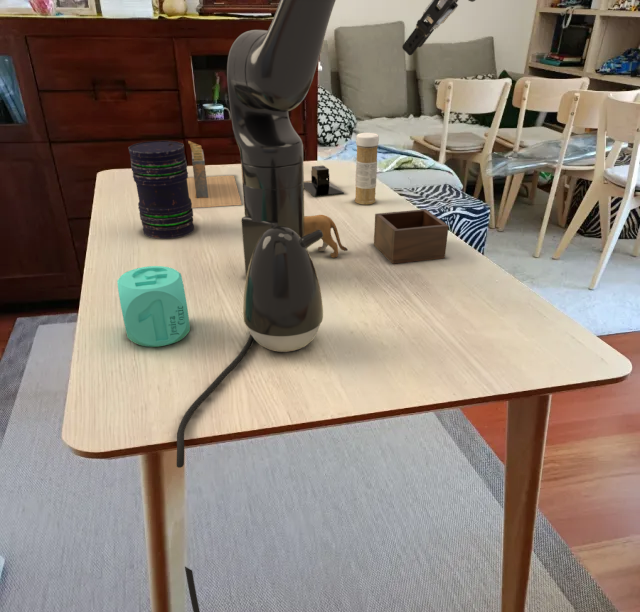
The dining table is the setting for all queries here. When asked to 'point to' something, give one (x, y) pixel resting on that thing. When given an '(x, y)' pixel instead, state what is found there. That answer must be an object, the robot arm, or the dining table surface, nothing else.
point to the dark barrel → (162, 188)
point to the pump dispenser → (283, 291)
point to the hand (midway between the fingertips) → (411, 47)
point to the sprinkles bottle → (366, 167)
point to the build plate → (321, 183)
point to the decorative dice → (153, 306)
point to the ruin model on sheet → (199, 171)
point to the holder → (410, 236)
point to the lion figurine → (324, 232)
